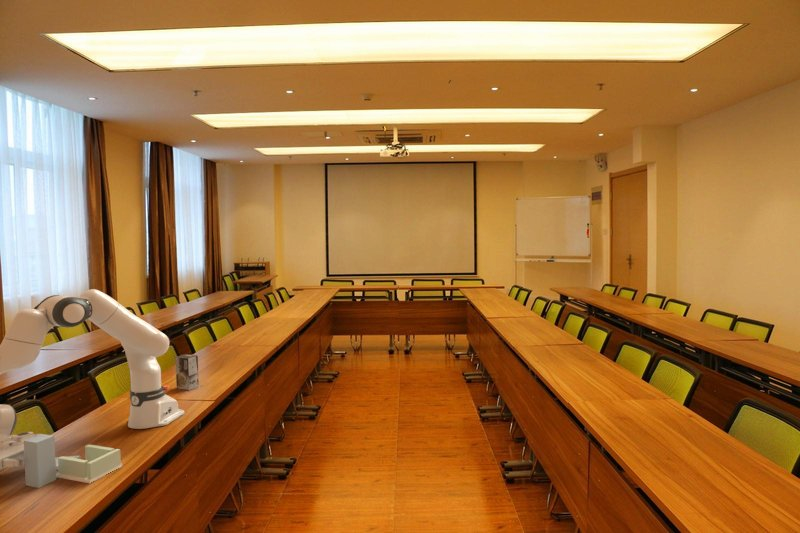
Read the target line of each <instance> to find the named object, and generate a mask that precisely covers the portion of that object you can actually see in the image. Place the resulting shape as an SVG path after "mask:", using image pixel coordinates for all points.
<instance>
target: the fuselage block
mask: <svg viewBox="0 0 800 533" xmlns="http://www.w3.org/2000/svg"><path fill="white" fill-rule="evenodd" d="M39 434H40V435H37V436H34V437H32V438H29V439H26V440H24V458H25V460H24V471H25V473H24V474H25V477H24V478H25V486H28V487H32V488H35V489H36V488H37V489H40V488H42V487H44V486H47V485H49V484H51V483H53V482H54V481H56V480H57V477H56V474H57V470H56V461H55V457H56V446H55V444H56V443H55V442H56V441H55V435H52V434H51V435H50V434H44V433H39Z"/></svg>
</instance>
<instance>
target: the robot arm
mask: <svg viewBox="0 0 800 533" xmlns="http://www.w3.org/2000/svg"><path fill="white" fill-rule="evenodd" d="M87 320H89V321H90V322H91V323H93V324H94V325H95V326H97V327H98V328H99V329H101V330H102V331H104V332H105V333H107V334H108V335H109V336H111V337H112V338H114V339H116V340H117V341H119V342H120V345H121V346H122V348H123V350H124V352H125V358H126V360H127V365H128V367H129V374H130V375H129V376H130V378H129V379H130V390H129V399H130V407H129V416H128V418H127V419H128V420H127V422H128V423H127V427H128V428H130V429H135V430H142V429H143V430H144V429H149V428H151V429H152V428H156V427H164V426H167V425H168V424H170V423H172V422H174V421H175V420H176V419H178V418H179V417H182V416H183V415H185V410H183V409H182V408H179V403H178V401H177V400H176V399H175V398H173V397H171V396H169V395H168V394H166V392H165V391H168V392H169V391H170V385H163V386H162V371H161V370H162V368H161V366H160V363H159V362H158V361H157V357H158V358H159V357H161V356H163V355H165V353H166V352H168V350H169V348H170V338H169V337H168V336H167V335H166V334H165V333H163V332H162V331H161V330H159V329H157V328H156V327H154V326H153V325H152V324H150V323H148V322H147V321H146V320H144V319H142V318H141V317H139V316H137V315H136V314H134V313H133V312H131V311H130V310H129V309H127V308H126V307H125V306H124V305H123V304H121V303H120V302H118V301H117V300H116V299H114V298H113V297H111V296H110V295H108V294H106V293H105V292H102V291H101V290H99V289H97V288H96V289H95V288H91V289H88V290H86V291H84V292H82V293H81V294H80V295H79V296H77V297H76V296H70V295H63V294H62V295H59V294H58V295H57V294H54V295H50V296H47V297H45V298H44V299H43V300H42V301H40V302H39V303H38V304H37V305H35V307H33V308H23V309H20V310H18V312H17V313H16V314H15V316H14V317H13V319H12V320H11V322H10V324H9V326H8V327H7V330H6V332H5V335H4V337H3V340H2V341H1V343H0V375H3V374H5V373H7V372H11V371H13V370H17V369H22V368H25V367H27V366H29V365H31V364H32V363H34V362H35V361H36V360H37V358H38V357H39V355H40V353H41V350H42V348H43V345H44V342H45V339H46V336H47V334H48V332H49V331H50V330H51V329H52V328H54V327H62V328H67V329H68V328H74V327H78V326H79V325H81V324H82V323H84V322H85V321H87ZM17 421H18V415H17V412H16V410H15V408H14V407H13V406H12V405H11V404H0V471H1V470H4V469H5V468H11V467H16V468H17V467H19V466H22V465H23V461H25V458H24V440H26V439H29V438H32V437H34V436H37V435H40V434H41V433H34V432H33V431H26V432H22V433H17V434H13V433H14V430H15V427H16V426H17Z"/></svg>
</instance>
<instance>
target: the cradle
mask: <svg viewBox="0 0 800 533" xmlns="http://www.w3.org/2000/svg"><path fill="white" fill-rule="evenodd" d="M84 451H85V452H84V454H85V455H84V457H85V459H81V458H80V459H76V458H71V457H67V456H63V455H61V456H58V457H59V458H58V471H57V472H56V478H59V479H64V480H70V481H76V482H79V483H80V482H81V483H86V484H91V482H92V483H93V481H94V482H95V481H97V480H100V479H102V478H103V477H105V476H107V475H108V473H109V474H110V472H111V473H113V472H115V471H117V470H118V468H119V469H120V468H122V467H123V463H122V459H121V458H122V456H121V449H120V448H116V449H115V448H114V447H107V446H103V445H102V446H101V445H97V444H95V445H94V444H87V445H85V446H84ZM116 469H117V470H116ZM114 470H115V471H114ZM112 471H113V472H112ZM106 474H107V475H106Z"/></svg>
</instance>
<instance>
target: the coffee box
mask: <svg viewBox="0 0 800 533" xmlns="http://www.w3.org/2000/svg"><path fill="white" fill-rule="evenodd" d="M174 359H175V378H176V379H175V381H176V389H180V390H186V391H187V390H188V391H190V390H194V389H196V388H199V387H200V386H199V385H200V384H199V383H200V382H199V363H198V362H199V361H198V360H199V358H198V355H194V354H181V355H179V356H175V358H174Z"/></svg>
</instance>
